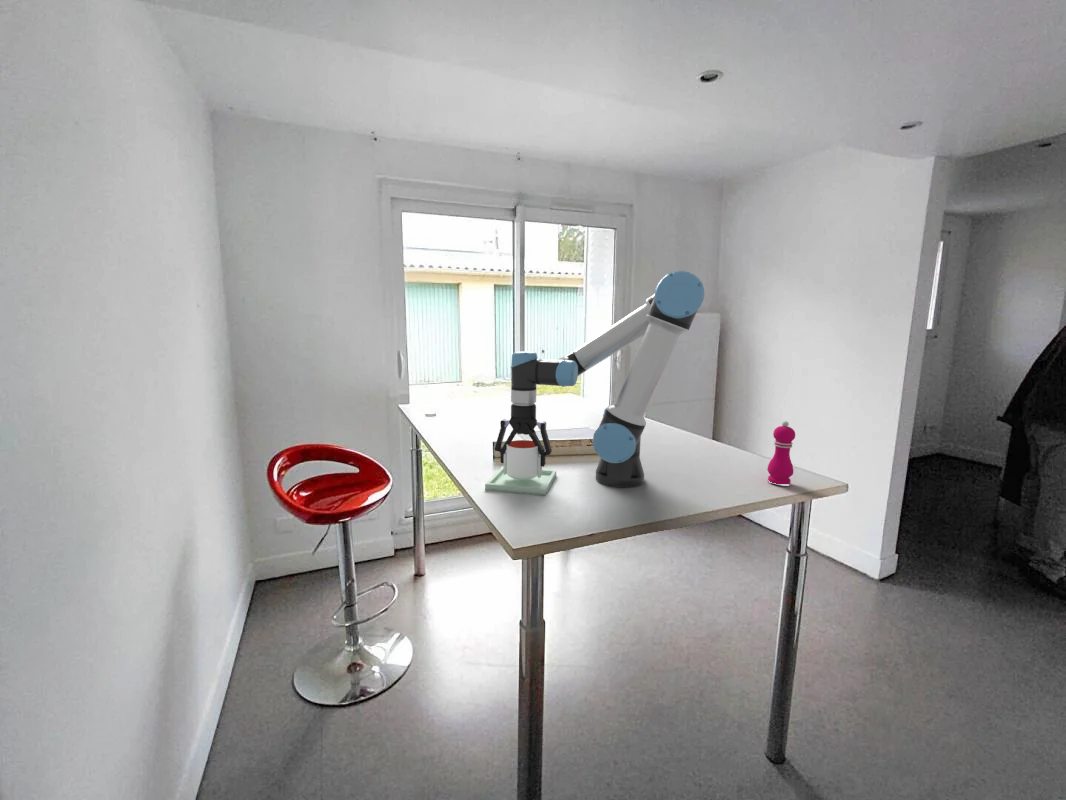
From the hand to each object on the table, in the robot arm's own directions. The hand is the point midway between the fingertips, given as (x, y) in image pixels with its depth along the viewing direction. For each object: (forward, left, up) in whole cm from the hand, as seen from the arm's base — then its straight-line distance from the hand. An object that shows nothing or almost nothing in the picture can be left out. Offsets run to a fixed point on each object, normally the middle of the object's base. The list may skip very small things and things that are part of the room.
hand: (522, 474), depth 143 cm
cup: (0, 0, -1) cm, 1 cm away
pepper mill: (-78, -21, -3) cm, 81 cm away
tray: (0, 0, -3) cm, 3 cm away
